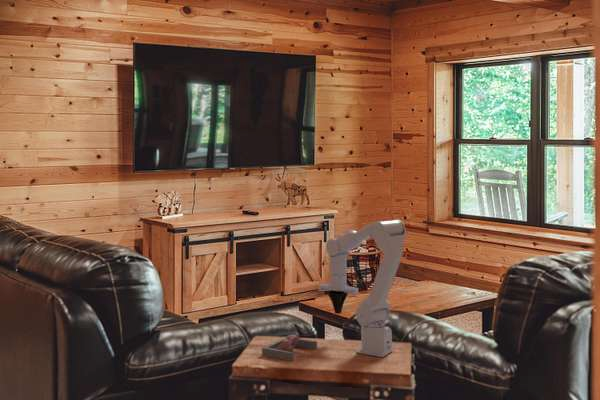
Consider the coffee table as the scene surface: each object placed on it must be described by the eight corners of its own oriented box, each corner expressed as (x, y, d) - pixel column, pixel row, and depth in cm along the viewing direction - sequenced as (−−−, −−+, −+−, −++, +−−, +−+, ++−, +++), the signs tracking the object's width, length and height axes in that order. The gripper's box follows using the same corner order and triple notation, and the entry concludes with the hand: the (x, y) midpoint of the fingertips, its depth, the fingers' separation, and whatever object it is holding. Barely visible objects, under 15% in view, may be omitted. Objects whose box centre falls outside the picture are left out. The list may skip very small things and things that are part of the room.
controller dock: (317, 348, 243) (317, 341, 243) (291, 361, 230) (291, 353, 230) (288, 343, 249) (288, 336, 249) (262, 355, 236) (262, 347, 236)
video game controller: (282, 361, 235) (291, 343, 233) (271, 353, 236) (279, 335, 235) (295, 353, 244) (304, 335, 242) (284, 345, 245) (292, 328, 244)
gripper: (313, 273, 251) (313, 312, 253) (351, 277, 244) (351, 318, 245) (324, 269, 257) (324, 308, 258) (361, 274, 250) (361, 313, 251)
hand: (338, 313), depth 252 cm, fingers closed
